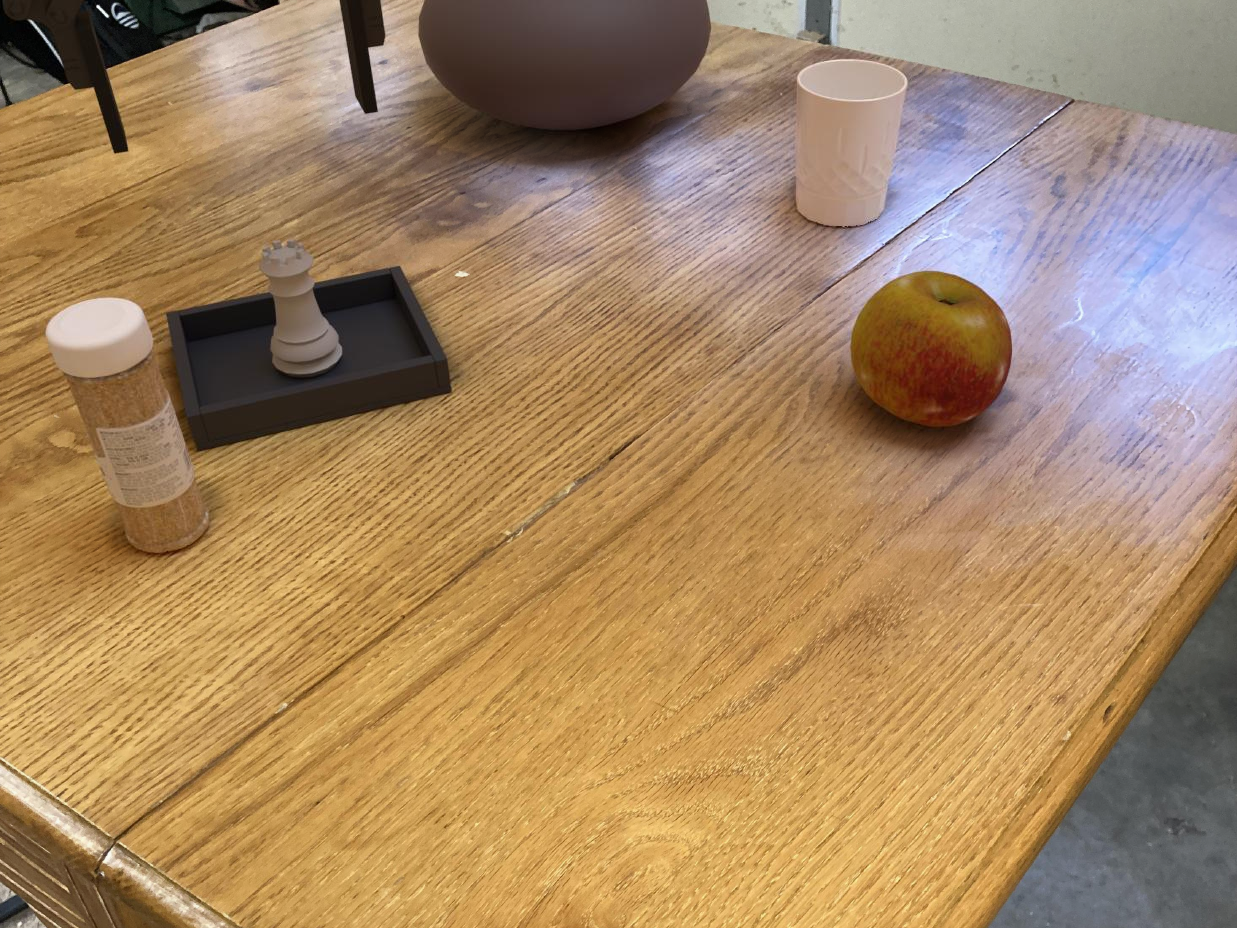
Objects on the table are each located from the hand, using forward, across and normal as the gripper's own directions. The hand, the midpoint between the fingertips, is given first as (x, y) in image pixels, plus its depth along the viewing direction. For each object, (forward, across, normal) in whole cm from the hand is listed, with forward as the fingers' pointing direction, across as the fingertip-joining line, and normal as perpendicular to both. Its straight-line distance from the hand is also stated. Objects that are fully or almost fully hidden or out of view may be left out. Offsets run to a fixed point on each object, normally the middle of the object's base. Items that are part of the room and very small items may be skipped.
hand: (246, 124), depth 68 cm
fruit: (+16, +34, -20) cm, 43 cm away
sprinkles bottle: (+16, -10, -14) cm, 23 cm away
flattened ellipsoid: (+16, +29, +32) cm, 46 cm away
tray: (+16, 0, -1) cm, 16 cm away
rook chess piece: (+16, 0, -1) cm, 16 cm away
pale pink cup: (+16, +42, +6) cm, 46 cm away
